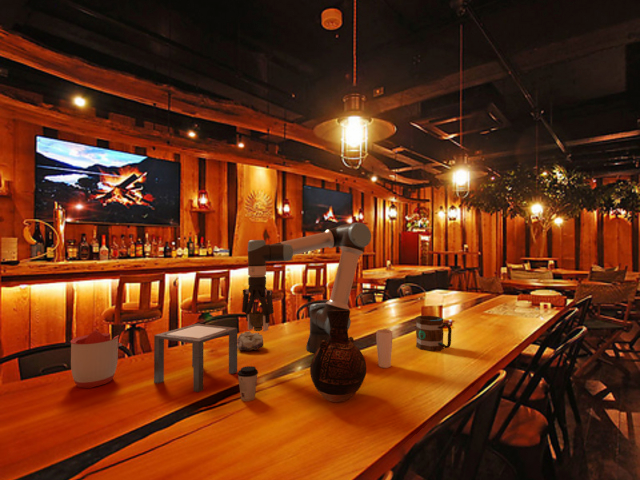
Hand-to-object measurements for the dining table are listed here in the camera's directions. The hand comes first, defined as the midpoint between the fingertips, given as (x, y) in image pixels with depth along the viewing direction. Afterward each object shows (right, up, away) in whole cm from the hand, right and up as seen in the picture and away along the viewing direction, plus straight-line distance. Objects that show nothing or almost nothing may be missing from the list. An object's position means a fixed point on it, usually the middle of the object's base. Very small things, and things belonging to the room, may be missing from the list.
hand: (257, 329), depth 148 cm
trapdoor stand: (-22, -16, -10) cm, 29 cm away
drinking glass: (+54, -16, +1) cm, 57 cm away
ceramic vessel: (+33, -16, -30) cm, 47 cm away
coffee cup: (+2, -16, -30) cm, 34 cm away
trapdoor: (-22, +1, -10) cm, 25 cm away
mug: (+84, -17, +26) cm, 90 cm away
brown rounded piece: (0, -1, 0) cm, 1 cm away
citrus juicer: (-59, -16, -15) cm, 63 cm away
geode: (-10, -17, +28) cm, 35 cm away
